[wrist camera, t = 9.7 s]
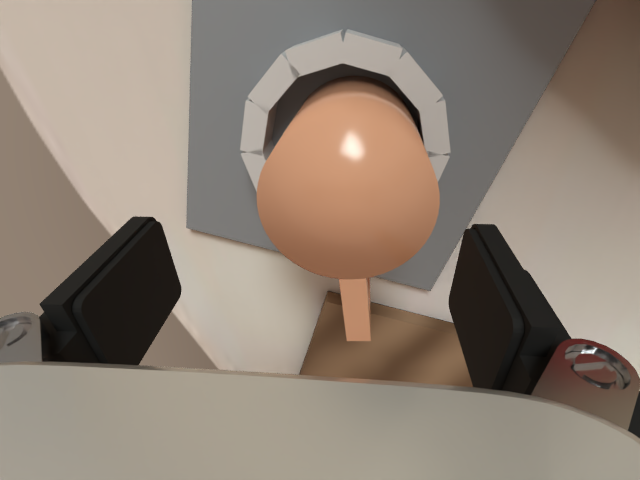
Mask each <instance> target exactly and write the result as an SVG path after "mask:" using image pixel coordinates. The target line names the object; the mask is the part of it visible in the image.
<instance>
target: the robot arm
mask: <svg viewBox="0 0 640 480" xmlns="http://www.w3.org/2000/svg"><path fill="white" fill-rule="evenodd" d="M180 295H181V285H180V282H179V278H178V275H177V272H176V269H175V266H174V263H173V259H172V256H171V253H170V250H169V247H168V243H167V240H166V237H165V234H164V231H163V227H162V225H161V223H160V222H157V221H156V220H155V218H153V217H132V218H131V219H130V220H129V221H128V222H127V223H126V224H124V225H123V226H122V227H121V228H120V229H119V230H118V231H117V232H116V233H115V234H114V235H113V236H112V237H111V238H110V239H108V241H106V242H105V243H104V244H103V245H102V246H101V247H100V248H99V249H98V250H97V251H96V252H95V253H94V254H92V256H90V257H89V258H88V259H87V260H86V261H85V262H84V263H83V264H82V265H81V266H80V267H79V268H77V270H75V271H74V272H73V273H72V274H71V275H70V276H69V277H68V278H67V279H66V280H65V281H64V282H63V283H61V284H60V285H59V286H58V287H57V288H56V289H55V290H54V291H53V292H52V293H51V294H50V295H49V296H48V297H46V299H44V300H43V301H42V302H41V303H40V306H41V307H42V309H43V310H44V313H43V314H42V315H41V316H40V317H38V315H36V314H34V313H30V312H21V313H14V314H11V315H7V316H4V317H2V318H0V480H640V391H639V390H640V378H639V376H638V374H637V372H636V370H635V369H634V367H633V366H632V365H631V364H630V363H629V362H628V361H627V360H626V359H625V358H624V357H622V356H621V355H620V354H619V353H617V352H616V351H614V350H612V349H610V348H608V347H607V346H605V345H602V344H599V343H597V342H594V341H590V340H585V339H571V337H570V336H569V334H568V333H567V331H566V329H565V328H564V326H563V325H562V323H561V322H560V320H559V319H558V317H557V315H556V314H555V312H554V311H553V309H552V308H551V306H550V305H549V303H548V301H547V300H546V298H545V297H544V295H543V294H542V292H541V291H540V289H539V287H538V286H537V284H536V283H535V281H534V280H533V278H532V277H531V275H530V274H529V273H528V272H527V271H526V270H524V269H523V268H522V266H521V265H520V263H519V261H518V260H517V258H516V257H515V255H514V254H513V252H512V250H511V249H510V247H509V246H508V244H507V242H506V241H505V239H504V238H503V236H502V235H501V233H500V231H499V230H498V228H497V227H496V226H495V225H493V224H474V225H472V227H471V229H466V230H465V232H464V235H463V239H462V244H461V248H460V252H459V257H458V261H457V265H456V270H455V274H454V278H453V283H452V287H451V291H450V296H449V309H450V312H451V316H452V319H453V322H454V326H455V329H456V332H457V336H458V339H459V342H460V345H461V349H462V352H463V355H464V359H465V362H466V365H467V368H468V372H469V375H470V378H471V382H472V385H473V387H464V386H452V385H439V384H427V383H415V382H401V381H386V380H371V379H356V378H341V377H326V376H310V375H294V374H278V373H262V372H245V371H228V370H212V369H195V368H176V367H157V366H140V365H139V363H140V361H141V360H142V358H143V357H144V355H145V353H146V352H147V350H148V348H149V347H150V345H151V344H152V342H153V340H154V339H155V337H156V335H157V334H158V332H159V330H160V329H161V327H162V326H163V324H164V322H165V321H166V319H167V317H168V316H169V314H170V313H171V311H172V309H173V308H174V306H175V304H176V303H177V301H178V299H179V298H180Z"/></svg>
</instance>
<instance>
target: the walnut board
mask: <svg viewBox="0 0 640 480" xmlns="http://www.w3.org/2000/svg"><path fill="white" fill-rule="evenodd" d="M370 309H371V341H347V339H346V331H345V323H344V315H343V307H342V299H341V294H337V293H333V292H329V291H328V292H327V295H326V298H325V301H324V304H323V307H322V309H321V312H320V315H319V318H318V321H317V324H316V327H315V330H314V333H313V336H312V339H311V342H310V345H309V347H308V350H307V353H306V356H305V359H304V362H303V365H302V368H301V371H300V374H299V375H310V376H326V377H341V378H356V379H371V380H386V381H401V382H415V383H427V384H439V385H452V386H464V387H473V385H472V382H471V378H470V375H469V372H468V368H467V365H466V362H465V359H464V355H463V352H462V349H461V345H460V342H459V339H458V336H457V332H456V329H455V326H454V323H451V322H447V321H443V320H439V319H435V318H431V317H427V316H423V315H419V314H415V313H411V312H407V311H404V310H400V309H396V308H392V307H388V306H384V305H380V304H376V303H372V302H370Z"/></svg>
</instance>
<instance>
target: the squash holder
mask: <svg viewBox="0 0 640 480" xmlns="http://www.w3.org/2000/svg"><path fill="white" fill-rule="evenodd" d="M595 1H596V0H192V26H191V66H190V106H189V146H188V185H187V225H186V228H189V229H192V230H196V231H200V232H204V233H208V234H212V235H216V236H220V237H223V238H227V239H231V240H235V241H239V242H243V243H247V244H250V245H254V246H258V247H262V248H266V249H270V250H274V251H278V252H280V251H279V250H278V249H277V248H276V246H275V245H274V244H273V243H272V241H271V240H270V238H269V237H268V235H267V234H266V232H265V230H264V228H263V226H262V223H261V220H260V217H259V213H258V208H257V186H258V181H259V177H260V173H261V171H262V168H263V166H264V164H265V162H266V160H267V159H268V157H269V155H270V154H271V152H272V151H273V149H274V148H275V146H276V144H277V143H278V141H279V140H280V138H281V137H282V135H283V133H284V132H285V130H286V129H287V127H288V126H289V124H290V122H291V121H292V119H293V118H294V116H295V115H296V113H297V111H298V110H299V108H300V107H301V105H302V104H303V102H304V101H305V100H306V98H307V97H308V96H309V95H310V94H311V93H312V92H313V91H314V90H315V89H317V88H318V87H320V86H321V85H323V84H324V83H326V82H328V81H330V80H333V79H336V78H340V77H345V76H365V77H369V78H373V79H376V80H379V81H381V82H383V83H385V84H386V85H388V86H390V87H391V88H392V89H394V90H395V91H396V92H397V93H398V94H399V95H400V96H401V97H402V98H403V100H404V101H405V103H406V104H407V106H408V108H409V110H410V112H411V114H412V117H413V119H414V122H415V124H416V127H417V129H418V132H419V134H420V137H421V139H422V142H423V144H424V147H425V149H426V152H427V154H428V157H429V159H430V162H431V164H432V167H433V169H434V172H435V175H436V178H437V181H438V187H439V192H440V205H439V213H438V217H437V220H436V224H435V226H434V229H433V231H432V233H431V235H430V236H429V238H428V240H427V241H426V243H425V244H424V245H423V246H422V248H421V249H420V250H419V251H418V252H417V253H416V254H415V255H414V256H413V257H412V258H411V259H409V260H408V261H406V262H405V263H404V264H402V265H400V266H399V267H397V268H395V269H393V270H391V271H389V272H386V273H384V274H381V275H377V276H374V277H378V278H382V279H386V280H390V281H394V282H397V283H401V284H405V285H409V286H413V287H417V288H421V289H425V290H428V291H431V289H432V287H433V286H434V284H435V282H436V280H437V279H438V277H439V275H440V273H441V272H442V270H443V268H444V266H445V264H446V263H447V261H448V259H449V257H450V256H451V254H452V252H453V250H454V249H455V247H456V245H457V243H458V242H459V240H460V238H461V236H462V235H463V233H464V231H465V229H466V228H467V226H468V224H469V222H470V221H471V219H472V217H473V215H474V214H475V212H476V210H477V208H478V207H479V205H480V203H481V201H482V200H483V198H484V196H485V194H486V193H487V191H488V189H489V187H490V185H491V184H492V182H493V180H494V178H495V177H496V175H497V173H498V171H499V170H500V168H501V166H502V164H503V163H504V161H505V159H506V157H507V156H508V154H509V152H510V150H511V149H512V147H513V145H514V143H515V142H516V140H517V138H518V136H519V135H520V133H521V131H522V129H523V128H524V126H525V124H526V122H527V121H528V119H529V117H530V115H531V114H532V112H533V110H534V108H535V106H536V105H537V103H538V101H539V99H540V98H541V96H542V94H543V92H544V91H545V89H546V87H547V85H548V84H549V82H550V80H551V78H552V77H553V75H554V73H555V71H556V70H557V68H558V66H559V64H560V63H561V61H562V59H563V57H564V56H565V54H566V52H567V50H568V49H569V47H570V45H571V43H572V42H573V40H574V38H575V36H576V35H577V33H578V31H579V29H580V27H581V26H582V24H583V22H584V20H585V19H586V17H587V15H588V13H589V12H590V10H591V8H592V6H593V5H594V3H595Z"/></svg>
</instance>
